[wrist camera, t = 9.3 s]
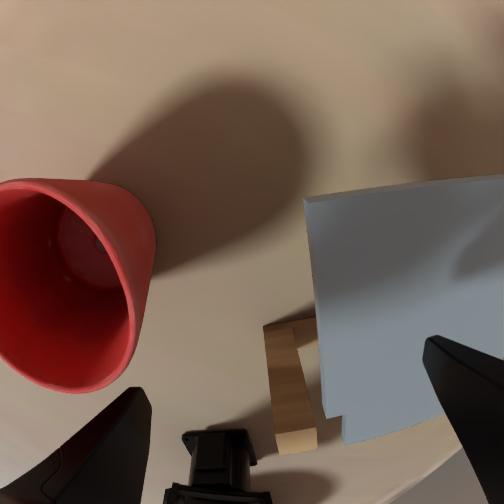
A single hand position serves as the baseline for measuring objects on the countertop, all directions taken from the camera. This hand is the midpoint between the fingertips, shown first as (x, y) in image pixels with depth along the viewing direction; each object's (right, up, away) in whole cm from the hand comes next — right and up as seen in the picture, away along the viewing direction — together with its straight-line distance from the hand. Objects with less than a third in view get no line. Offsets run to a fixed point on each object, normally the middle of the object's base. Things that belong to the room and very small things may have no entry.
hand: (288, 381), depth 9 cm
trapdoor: (+8, +1, +6) cm, 10 cm away
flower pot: (-11, +5, +12) cm, 17 cm away
